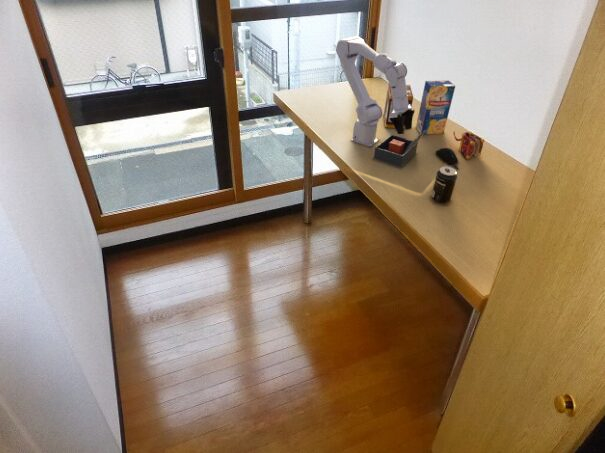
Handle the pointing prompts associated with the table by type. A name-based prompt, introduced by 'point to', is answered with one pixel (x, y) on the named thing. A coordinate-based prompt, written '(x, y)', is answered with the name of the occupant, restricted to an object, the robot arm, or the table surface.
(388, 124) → the supplement box
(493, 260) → the table surface
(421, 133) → the flap
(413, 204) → the table surface
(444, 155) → the gaming mouse
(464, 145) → the book monster
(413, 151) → the storage box
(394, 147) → the small box
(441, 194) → the beverage can
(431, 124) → the beverage box
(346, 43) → the robot arm
